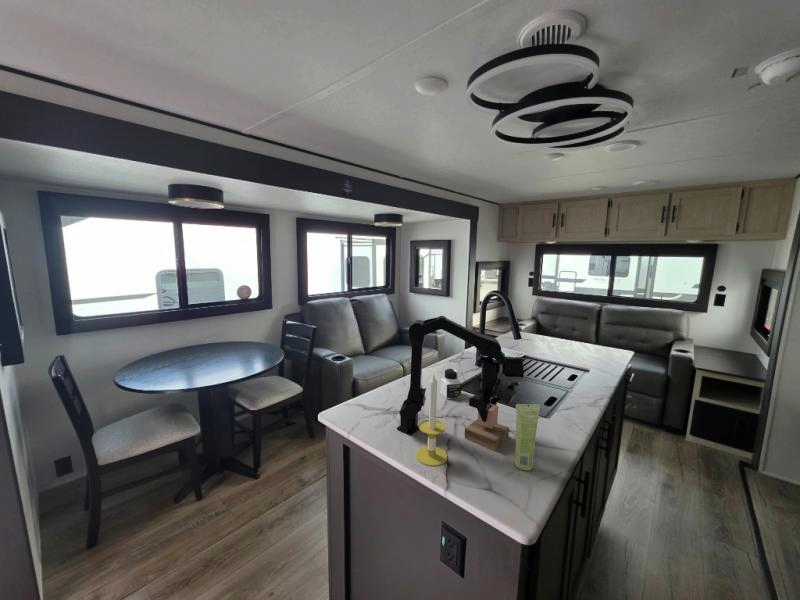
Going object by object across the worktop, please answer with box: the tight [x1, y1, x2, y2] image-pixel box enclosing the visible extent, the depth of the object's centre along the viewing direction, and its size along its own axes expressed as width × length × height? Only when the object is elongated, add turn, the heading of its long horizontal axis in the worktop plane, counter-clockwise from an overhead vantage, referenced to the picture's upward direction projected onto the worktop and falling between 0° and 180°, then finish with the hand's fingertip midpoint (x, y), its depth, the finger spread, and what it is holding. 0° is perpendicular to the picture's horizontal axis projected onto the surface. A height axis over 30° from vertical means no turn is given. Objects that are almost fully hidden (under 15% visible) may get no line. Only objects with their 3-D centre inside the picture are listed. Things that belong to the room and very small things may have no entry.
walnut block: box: [464, 418, 510, 452], centre depth 110 cm, size 11×11×4 cm
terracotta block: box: [477, 404, 499, 428], centre depth 109 cm, size 5×5×6 cm
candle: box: [415, 374, 448, 467], centre depth 98 cm, size 10×10×27 cm
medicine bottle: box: [440, 368, 462, 400], centre depth 143 cm, size 7×7×12 cm
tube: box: [514, 403, 541, 472], centre depth 94 cm, size 6×5×20 cm
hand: (487, 418), depth 109 cm, fingers closed on terracotta block, 5 cm apart
